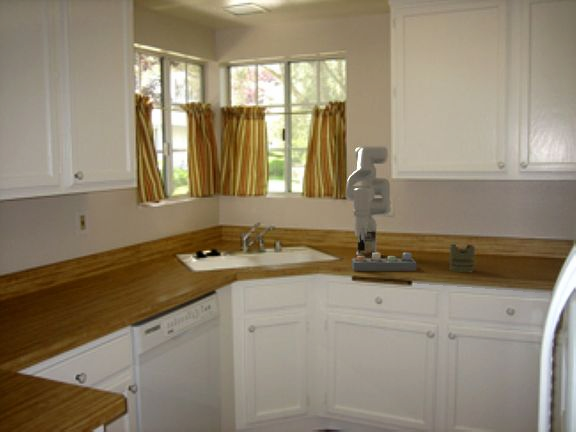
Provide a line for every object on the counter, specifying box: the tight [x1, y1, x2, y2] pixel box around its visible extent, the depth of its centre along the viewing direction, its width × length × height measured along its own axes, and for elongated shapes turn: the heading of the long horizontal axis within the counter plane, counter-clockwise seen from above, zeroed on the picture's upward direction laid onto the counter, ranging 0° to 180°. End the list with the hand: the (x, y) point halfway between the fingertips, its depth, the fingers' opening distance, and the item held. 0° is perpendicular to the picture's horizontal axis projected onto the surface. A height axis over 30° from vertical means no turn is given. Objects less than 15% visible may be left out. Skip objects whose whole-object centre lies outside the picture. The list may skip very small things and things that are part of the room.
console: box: [351, 257, 418, 272], centre depth 305 cm, size 12×30×4 cm, turn 89°
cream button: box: [372, 252, 382, 261], centre depth 305 cm, size 4×4×4 cm
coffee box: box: [357, 230, 377, 258], centre depth 324 cm, size 9×6×16 cm
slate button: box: [402, 252, 412, 261], centre depth 305 cm, size 4×4×4 cm
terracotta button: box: [356, 255, 365, 261], centre depth 305 cm, size 4×4×4 cm
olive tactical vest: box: [449, 243, 476, 273], centre depth 299 cm, size 11×12×11 cm
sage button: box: [387, 255, 397, 261], centre depth 305 cm, size 4×4×4 cm
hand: (361, 250), depth 305 cm, fingers closed
